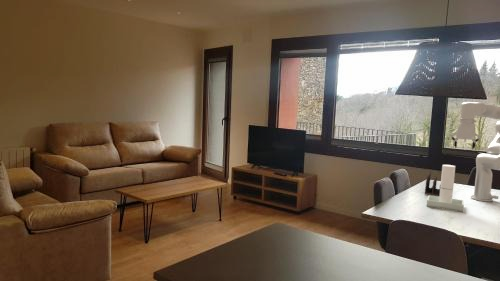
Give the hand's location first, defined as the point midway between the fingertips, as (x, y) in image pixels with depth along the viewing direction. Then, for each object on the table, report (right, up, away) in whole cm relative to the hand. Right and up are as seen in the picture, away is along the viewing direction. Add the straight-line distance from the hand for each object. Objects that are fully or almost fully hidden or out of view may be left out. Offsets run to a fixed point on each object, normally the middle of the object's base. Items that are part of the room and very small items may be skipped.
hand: (464, 148), depth 244 cm
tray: (-17, -37, -8) cm, 41 cm away
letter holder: (-6, -33, +28) cm, 44 cm away
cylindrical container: (-16, -36, -8) cm, 40 cm away
